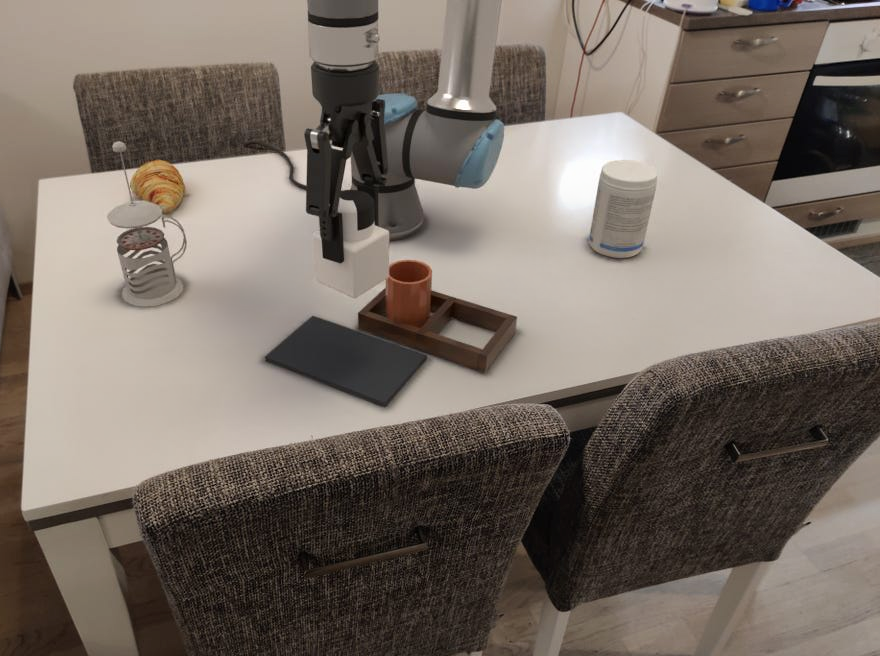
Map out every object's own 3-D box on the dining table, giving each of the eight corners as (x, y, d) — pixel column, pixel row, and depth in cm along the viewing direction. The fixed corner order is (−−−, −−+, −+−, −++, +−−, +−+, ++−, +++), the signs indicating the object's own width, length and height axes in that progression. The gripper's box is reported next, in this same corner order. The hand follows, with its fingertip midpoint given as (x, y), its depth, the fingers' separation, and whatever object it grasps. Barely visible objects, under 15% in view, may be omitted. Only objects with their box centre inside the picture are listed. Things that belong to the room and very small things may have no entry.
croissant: (188, 230, 142) (201, 193, 139) (137, 217, 136) (149, 178, 133) (165, 186, 157) (177, 152, 154) (118, 172, 151) (129, 136, 148)
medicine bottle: (350, 260, 101) (347, 179, 93) (390, 278, 97) (390, 194, 90) (314, 281, 96) (308, 197, 89) (354, 300, 93) (352, 214, 85)
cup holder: (358, 329, 111) (357, 312, 109) (394, 294, 118) (394, 278, 117) (485, 372, 103) (486, 356, 101) (515, 332, 110) (517, 316, 109)
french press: (119, 280, 121) (80, 133, 106) (190, 268, 124) (162, 124, 109) (123, 311, 114) (82, 159, 99) (198, 297, 117) (170, 148, 102)
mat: (265, 360, 104) (264, 356, 104) (313, 319, 113) (312, 315, 112) (385, 407, 97) (384, 402, 96) (426, 359, 105) (427, 354, 104)
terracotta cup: (377, 326, 111) (377, 275, 106) (399, 304, 116) (400, 255, 111) (416, 339, 109) (418, 288, 103) (437, 316, 114) (439, 267, 108)
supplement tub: (652, 251, 131) (672, 173, 122) (615, 265, 126) (633, 186, 117) (612, 229, 137) (628, 154, 128) (576, 242, 133) (589, 166, 124)
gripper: (320, 93, 71) (331, 290, 85) (419, 44, 85) (414, 220, 99) (259, 80, 74) (279, 273, 88) (364, 35, 88) (368, 207, 102)
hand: (351, 245), depth 93 cm, fingers closed on medicine bottle, 8 cm apart
